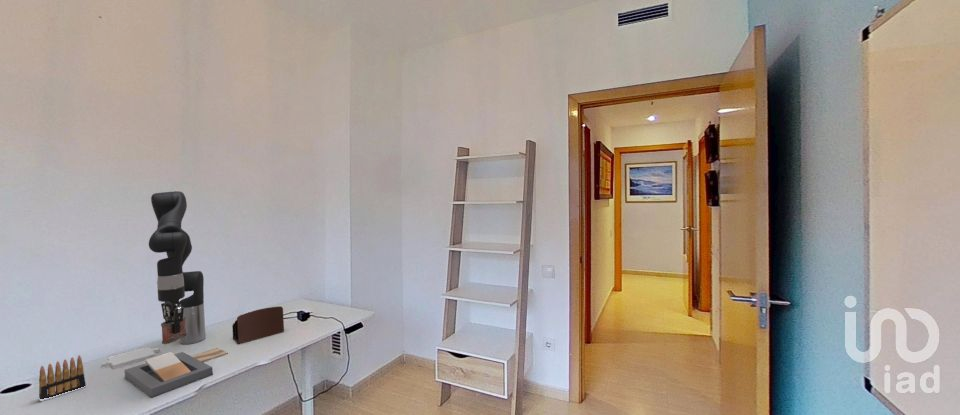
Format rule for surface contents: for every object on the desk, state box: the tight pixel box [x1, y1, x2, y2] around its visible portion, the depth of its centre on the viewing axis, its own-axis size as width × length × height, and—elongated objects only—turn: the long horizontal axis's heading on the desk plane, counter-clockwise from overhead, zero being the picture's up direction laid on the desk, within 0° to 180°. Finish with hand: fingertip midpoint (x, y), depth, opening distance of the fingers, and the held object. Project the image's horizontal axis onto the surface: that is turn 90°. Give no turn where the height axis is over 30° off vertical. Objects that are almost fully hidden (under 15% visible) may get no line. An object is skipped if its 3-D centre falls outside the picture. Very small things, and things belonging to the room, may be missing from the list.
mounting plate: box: [100, 346, 161, 370], centre depth 154 cm, size 18×13×2 cm
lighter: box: [160, 314, 187, 345], centre depth 134 cm, size 8×3×10 cm, turn 167°
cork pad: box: [190, 347, 228, 363], centre depth 155 cm, size 10×10×1 cm
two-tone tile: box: [144, 351, 191, 381], centre depth 138 cm, size 20×8×1 cm, turn 59°
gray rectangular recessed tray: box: [123, 351, 214, 398], centre depth 138 cm, size 28×18×3 cm, turn 58°
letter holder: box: [232, 306, 285, 345], centre depth 177 cm, size 10×20×14 cm, turn 137°
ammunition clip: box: [38, 355, 87, 399], centre depth 127 cm, size 11×2×12 cm, turn 153°
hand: (173, 331), depth 134 cm, fingers closed on lighter, 4 cm apart
